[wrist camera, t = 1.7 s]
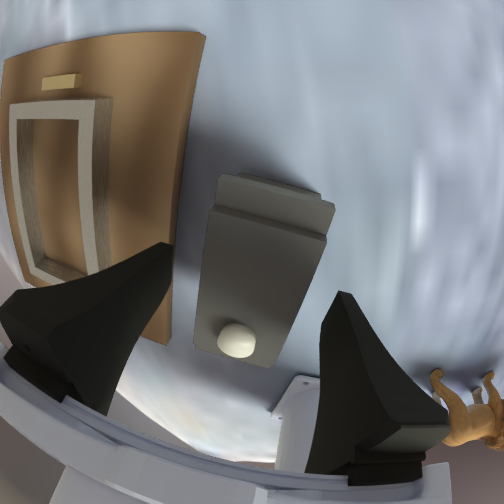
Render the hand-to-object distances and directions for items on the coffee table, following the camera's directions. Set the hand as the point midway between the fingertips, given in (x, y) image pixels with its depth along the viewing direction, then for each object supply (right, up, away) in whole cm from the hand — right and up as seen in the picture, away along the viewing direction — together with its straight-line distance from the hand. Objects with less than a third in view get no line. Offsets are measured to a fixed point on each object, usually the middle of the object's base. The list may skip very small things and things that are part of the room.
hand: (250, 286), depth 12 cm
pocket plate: (-12, +5, +4) cm, 13 cm away
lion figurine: (+21, -11, +7) cm, 24 cm away
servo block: (+1, +2, +3) cm, 4 cm away
